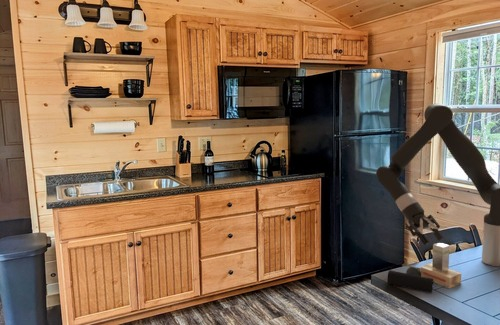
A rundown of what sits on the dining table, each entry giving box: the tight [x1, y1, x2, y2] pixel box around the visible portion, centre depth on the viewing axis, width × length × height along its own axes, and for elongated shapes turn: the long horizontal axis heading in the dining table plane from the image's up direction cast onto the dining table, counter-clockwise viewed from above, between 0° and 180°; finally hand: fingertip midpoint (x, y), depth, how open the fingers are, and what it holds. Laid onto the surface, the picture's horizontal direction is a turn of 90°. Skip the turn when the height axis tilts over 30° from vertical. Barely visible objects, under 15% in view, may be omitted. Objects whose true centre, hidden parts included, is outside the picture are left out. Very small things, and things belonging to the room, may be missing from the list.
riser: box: [420, 262, 462, 289], centre depth 145 cm, size 7×12×4 cm, turn 29°
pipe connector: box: [387, 265, 434, 294], centre depth 143 cm, size 12×5×15 cm
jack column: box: [431, 242, 450, 273], centre depth 144 cm, size 4×4×10 cm
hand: (434, 241), depth 146 cm, fingers open, 8 cm apart
